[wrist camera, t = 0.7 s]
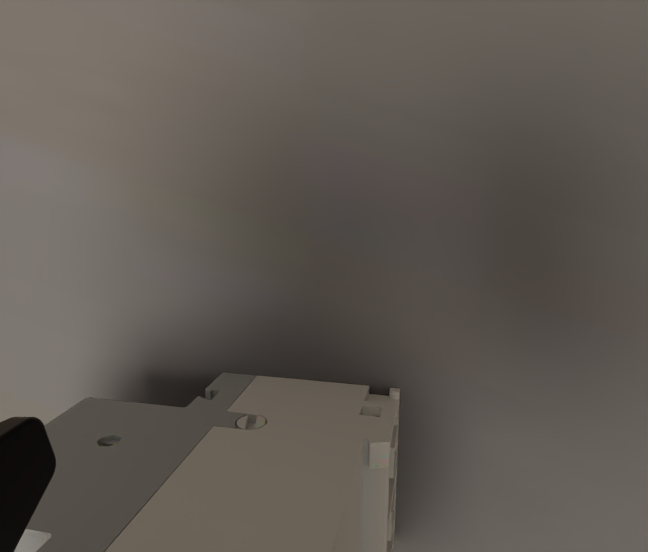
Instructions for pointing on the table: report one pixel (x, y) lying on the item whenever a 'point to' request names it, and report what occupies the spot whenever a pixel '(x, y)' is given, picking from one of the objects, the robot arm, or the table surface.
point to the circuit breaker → (224, 472)
